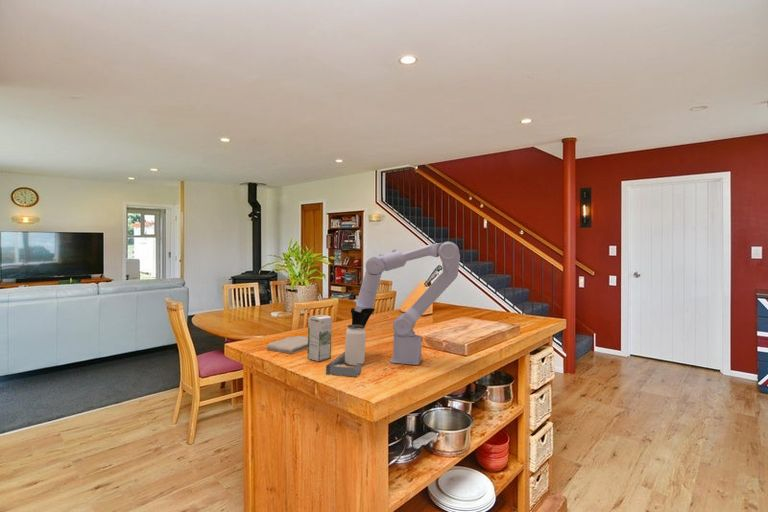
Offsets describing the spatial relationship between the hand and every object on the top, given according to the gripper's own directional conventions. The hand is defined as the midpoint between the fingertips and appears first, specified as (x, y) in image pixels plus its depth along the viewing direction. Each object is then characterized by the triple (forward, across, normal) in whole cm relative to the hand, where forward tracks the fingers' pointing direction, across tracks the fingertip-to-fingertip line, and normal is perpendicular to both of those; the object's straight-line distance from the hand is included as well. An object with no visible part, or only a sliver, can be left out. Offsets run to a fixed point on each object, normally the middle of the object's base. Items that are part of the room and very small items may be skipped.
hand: (358, 328), depth 135 cm
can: (+9, +7, +4) cm, 12 cm away
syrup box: (+13, +6, -9) cm, 17 cm away
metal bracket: (+9, +10, +4) cm, 14 cm away
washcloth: (+17, -7, -23) cm, 30 cm away
